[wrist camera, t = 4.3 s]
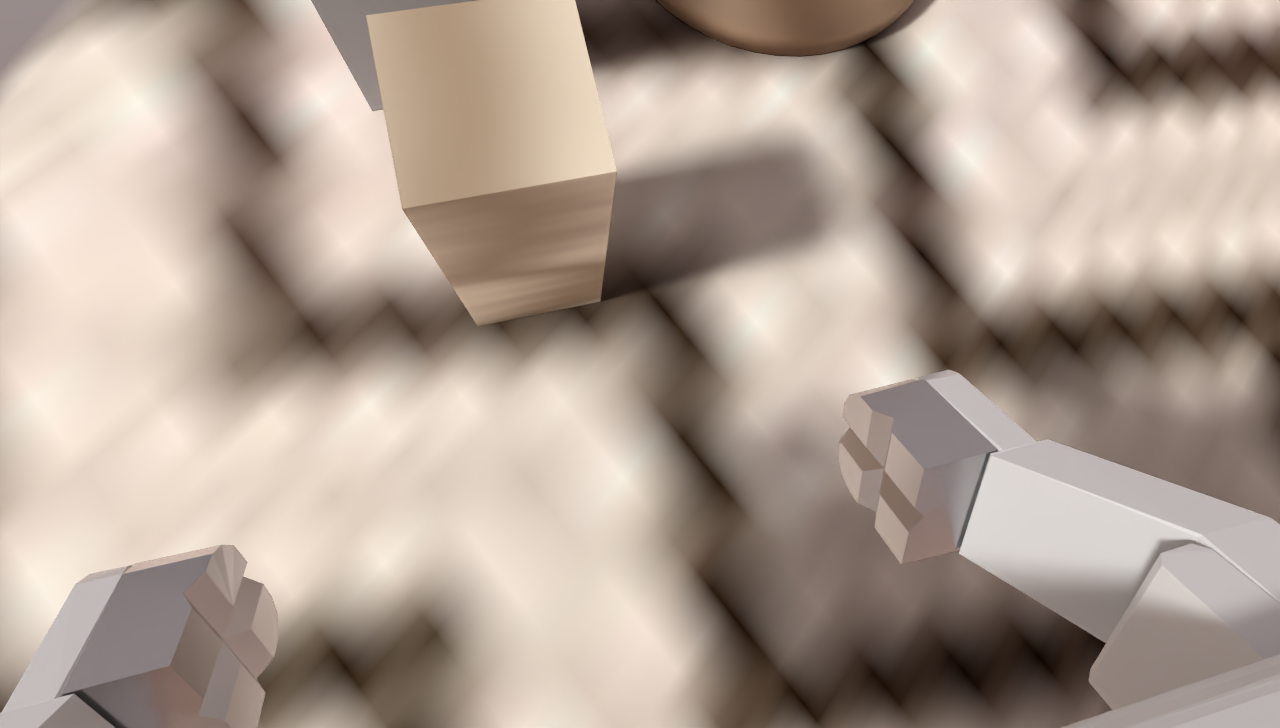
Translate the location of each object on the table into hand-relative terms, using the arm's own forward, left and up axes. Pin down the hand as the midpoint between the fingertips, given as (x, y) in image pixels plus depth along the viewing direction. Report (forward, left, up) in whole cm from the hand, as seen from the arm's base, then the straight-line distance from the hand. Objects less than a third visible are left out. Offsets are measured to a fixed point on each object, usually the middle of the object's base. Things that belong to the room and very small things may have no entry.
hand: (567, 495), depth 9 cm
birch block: (0, -8, -11) cm, 14 cm away
